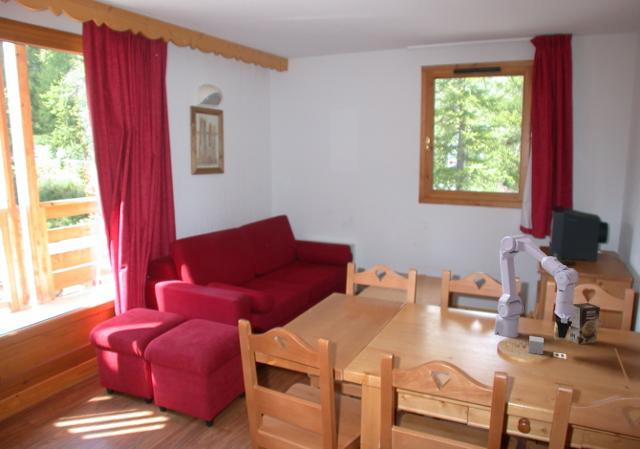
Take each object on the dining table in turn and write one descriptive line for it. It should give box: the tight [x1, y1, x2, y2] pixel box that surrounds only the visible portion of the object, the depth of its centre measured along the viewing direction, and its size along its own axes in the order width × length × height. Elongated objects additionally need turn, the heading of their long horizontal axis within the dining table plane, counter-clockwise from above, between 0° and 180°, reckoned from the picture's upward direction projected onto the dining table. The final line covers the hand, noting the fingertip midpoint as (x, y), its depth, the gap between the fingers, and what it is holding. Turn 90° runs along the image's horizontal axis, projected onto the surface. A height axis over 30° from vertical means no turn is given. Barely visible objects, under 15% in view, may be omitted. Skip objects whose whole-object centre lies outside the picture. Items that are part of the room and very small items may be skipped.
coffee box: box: [569, 302, 601, 345], centre depth 196 cm, size 9×6×16 cm
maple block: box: [553, 321, 570, 342], centre depth 182 cm, size 5×5×5 cm
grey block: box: [528, 335, 545, 355], centre depth 186 cm, size 5×5×5 cm
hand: (561, 334), depth 182 cm, fingers closed on maple block, 5 cm apart
